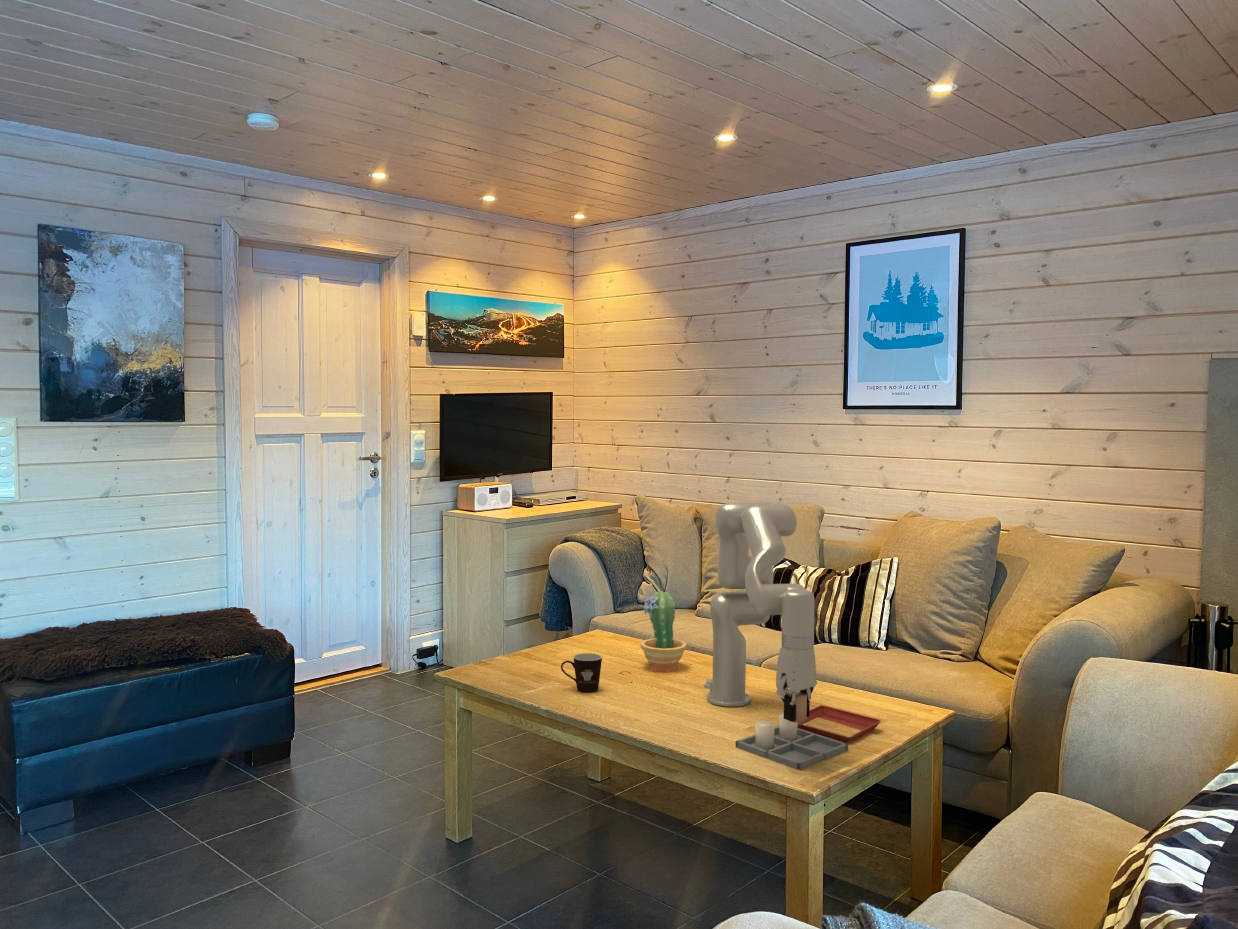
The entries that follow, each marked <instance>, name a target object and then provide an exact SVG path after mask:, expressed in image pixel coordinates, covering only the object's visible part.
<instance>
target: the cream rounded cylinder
mask: <svg viewBox="0 0 1238 929" xmlns="http://www.w3.org/2000/svg"><path fill="white" fill-rule="evenodd" d="M778 716H779V717H778V726H779V738H781V739H784V740H787V741H790V742H792V741H795V740H797V726H798V723H794V722H790V721H788V720H786V719H784V712H782V713H779V715H778Z"/></svg>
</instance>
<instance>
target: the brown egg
mask: <svg viewBox="0 0 1238 929" xmlns="http://www.w3.org/2000/svg"><path fill="white" fill-rule="evenodd" d="M788 695H789V697H791V694H790V693H788ZM794 704H795V705H796V721H794V723H803V722H806V718H807V695H806V694H804V693H801V692H799V691H798V692H796V696H795V702H794ZM788 721H789V720H788ZM790 722H792V721H790Z"/></svg>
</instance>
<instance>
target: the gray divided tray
mask: <svg viewBox="0 0 1238 929" xmlns="http://www.w3.org/2000/svg"><path fill="white" fill-rule="evenodd" d="M735 748H737V749H739V750H743V751H745V752H748V753H750V754H753V755H756V756H759V757H761V758H764V759H768V760H770V761H772V762H775V763H778V764H781V765H784V766H787V767H789V768H792V769H795V770H797V771H801V770H804V769H807V768H809V767H811V766H813V765H816V764H818V763H820V762H823V761H826V760H828V759H830V758H833V757H836V756H837V755H840V754H842V753H845V752H847V751H849V744H848V743H847V742H842V741H838V740H834V739H831V738H827V737H824V736H821V735H818V734H815V733H811V732H808V731H805V730H802V729H799V728H797V740H795V741H792V742H790V741H787V740H784V739H781V738H779V725H777V726H774V748H773V749H771V750H768V751H767V750H764V749H761V748H758V747H755V733H754V734H752V735H748V736H747V737H744V738H740V739H738V740H735Z"/></svg>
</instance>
